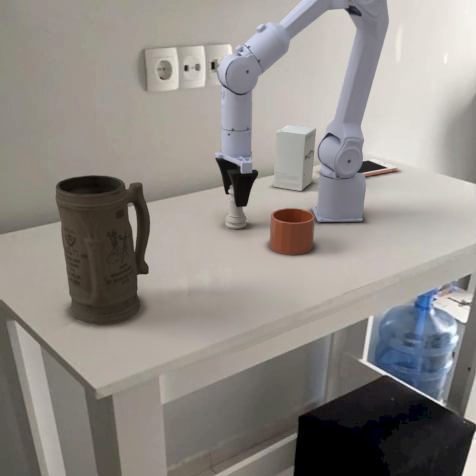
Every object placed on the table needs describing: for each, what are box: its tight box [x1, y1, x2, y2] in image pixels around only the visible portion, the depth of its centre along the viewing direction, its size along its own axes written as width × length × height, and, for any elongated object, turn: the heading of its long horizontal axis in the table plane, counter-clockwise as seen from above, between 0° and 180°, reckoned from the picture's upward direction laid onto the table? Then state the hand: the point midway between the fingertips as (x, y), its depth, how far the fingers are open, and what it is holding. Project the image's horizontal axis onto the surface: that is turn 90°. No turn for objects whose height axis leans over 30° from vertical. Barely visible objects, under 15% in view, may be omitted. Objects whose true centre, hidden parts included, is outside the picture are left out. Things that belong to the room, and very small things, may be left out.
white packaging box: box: [273, 124, 317, 192], centre depth 147 cm, size 7×7×13 cm
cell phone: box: [357, 158, 398, 177], centre depth 159 cm, size 9×18×1 cm, turn 120°
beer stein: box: [55, 174, 151, 325], centre depth 96 cm, size 15×11×20 cm
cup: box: [269, 207, 316, 256], centre depth 119 cm, size 8×8×6 cm
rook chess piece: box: [224, 185, 248, 230], centre depth 127 cm, size 4×4×8 cm
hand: (235, 200), depth 126 cm, fingers open, 7 cm apart
